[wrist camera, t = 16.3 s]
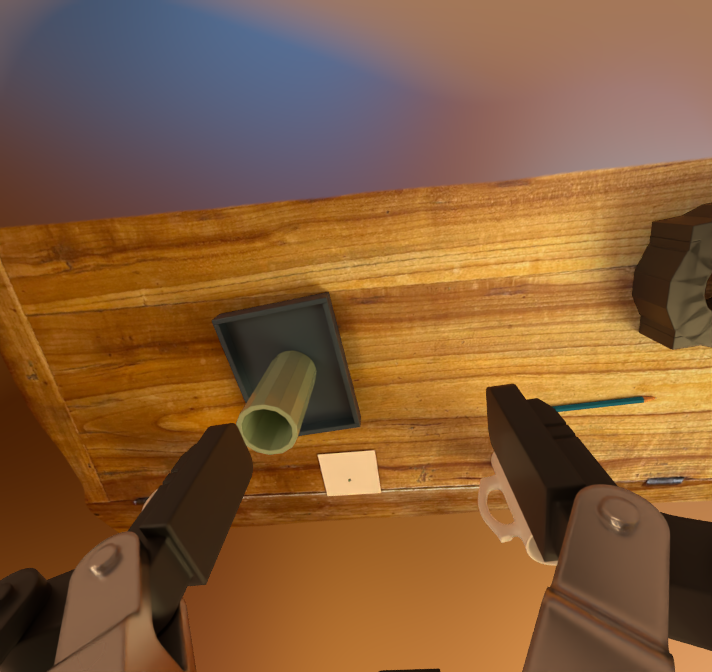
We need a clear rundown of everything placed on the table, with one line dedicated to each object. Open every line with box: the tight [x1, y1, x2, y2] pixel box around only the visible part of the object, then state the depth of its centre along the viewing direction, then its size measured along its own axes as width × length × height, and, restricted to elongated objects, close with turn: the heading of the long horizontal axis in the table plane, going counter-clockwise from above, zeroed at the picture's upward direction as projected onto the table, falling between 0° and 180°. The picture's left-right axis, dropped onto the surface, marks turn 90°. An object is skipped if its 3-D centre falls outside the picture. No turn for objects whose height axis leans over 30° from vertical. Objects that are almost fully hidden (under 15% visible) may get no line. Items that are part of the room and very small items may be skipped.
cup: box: [236, 351, 316, 455], centre depth 35 cm, size 6×6×11 cm
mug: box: [478, 452, 558, 565], centre depth 39 cm, size 10×7×12 cm, turn 105°
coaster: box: [318, 450, 381, 496], centre depth 46 cm, size 8×8×1 cm
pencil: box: [553, 397, 656, 412], centre depth 40 cm, size 1×17×1 cm, turn 100°
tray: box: [212, 292, 361, 436], centre depth 39 cm, size 17×13×2 cm
